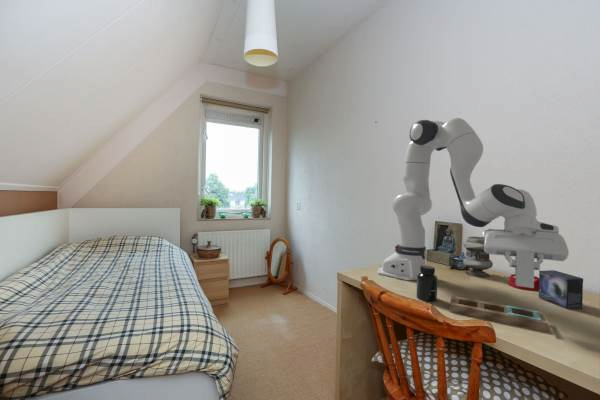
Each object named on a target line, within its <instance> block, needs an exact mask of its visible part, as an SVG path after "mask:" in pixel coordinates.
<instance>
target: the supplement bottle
mask: <svg viewBox="0 0 600 400" xmlns="http://www.w3.org/2000/svg"><path fill="white" fill-rule="evenodd" d="M420 272H421V273H419V274H418V275H417V280H416V299H418V300H419V301H423V302H429V303H434V302H436V301H438V300H437V299H438V284H439V283H438V277H437V275H436V274H435V273H436V268H435V267H434V266H431V265H426V266H420Z"/></svg>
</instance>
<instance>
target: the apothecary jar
mask: <svg viewBox="0 0 600 400" xmlns="http://www.w3.org/2000/svg"><path fill="white" fill-rule="evenodd" d="M484 242H485V239H484V238H483V236H475V235H471V236H467V239H466V240H465V241H464V242H463V247H464V248H465V251H466V252H465V258H463V261H462V262H463V264H464V266H465V267H467V268H470V269H468V270H466V271H465V272H464V273H465V274H467V275H469V276H471V277H475V278H476V277H477V278H489V277H490V276H491V275H490V274H489V273H487V272H486V270H489V269H491V268H493V265H494V264H493V263H494V262H493V261H492V260H491V259H490V254H487V253H486V252H485V251H484Z"/></svg>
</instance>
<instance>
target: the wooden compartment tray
mask: <svg viewBox="0 0 600 400" xmlns="http://www.w3.org/2000/svg"><path fill="white" fill-rule="evenodd" d="M448 307H449V310H448V311H449V312H450V313H455V314H458V315H459V314H460V315H463V316H468V317H473V318H479V319H483V320H488V321H492V322H497V323H502V324H506V325H511V326H517V327H521V328H525V329H530V330H536V331H539V332H545V333H548V331H549V329H548V328H549V322H548V320H547V319H546V317H545V315H544V313H543V312H542V311H540V310H539V311H538V310H533V309H527V308H522V307H518V306H511V305H506V304H505V305H504V304H499V303H493V302H488V301H483V300H478V299H473V298H467V297H461V296H455V295H451V298H450V301H449V306H448Z"/></svg>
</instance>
